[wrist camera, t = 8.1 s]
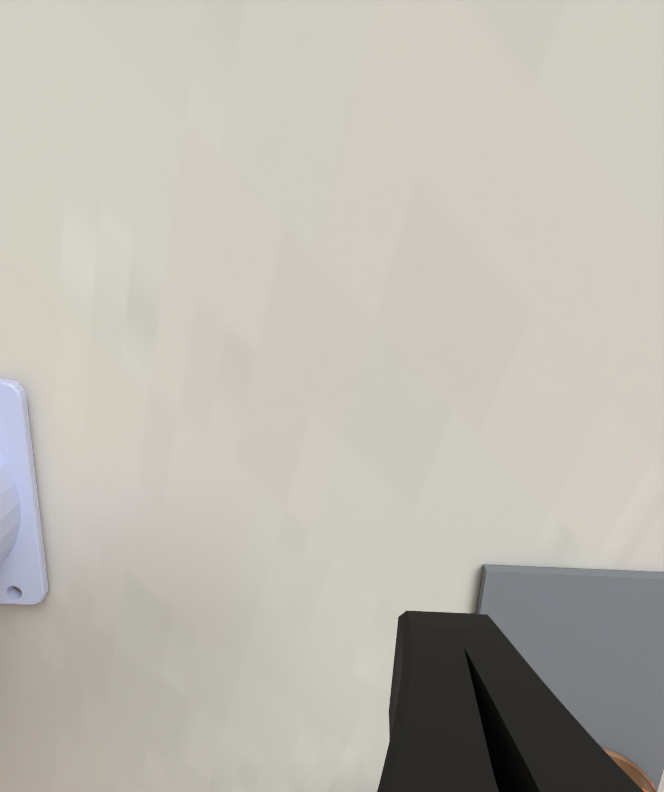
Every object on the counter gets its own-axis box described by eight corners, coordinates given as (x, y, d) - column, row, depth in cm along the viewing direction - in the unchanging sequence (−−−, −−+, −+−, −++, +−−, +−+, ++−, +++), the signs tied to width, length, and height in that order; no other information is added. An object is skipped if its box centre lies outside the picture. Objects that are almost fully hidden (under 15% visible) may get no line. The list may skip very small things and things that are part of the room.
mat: (433, 901, 26) (434, 911, 25) (483, 564, 20) (486, 571, 20) (615, 907, 26) (619, 917, 26) (712, 574, 21) (719, 581, 20)
